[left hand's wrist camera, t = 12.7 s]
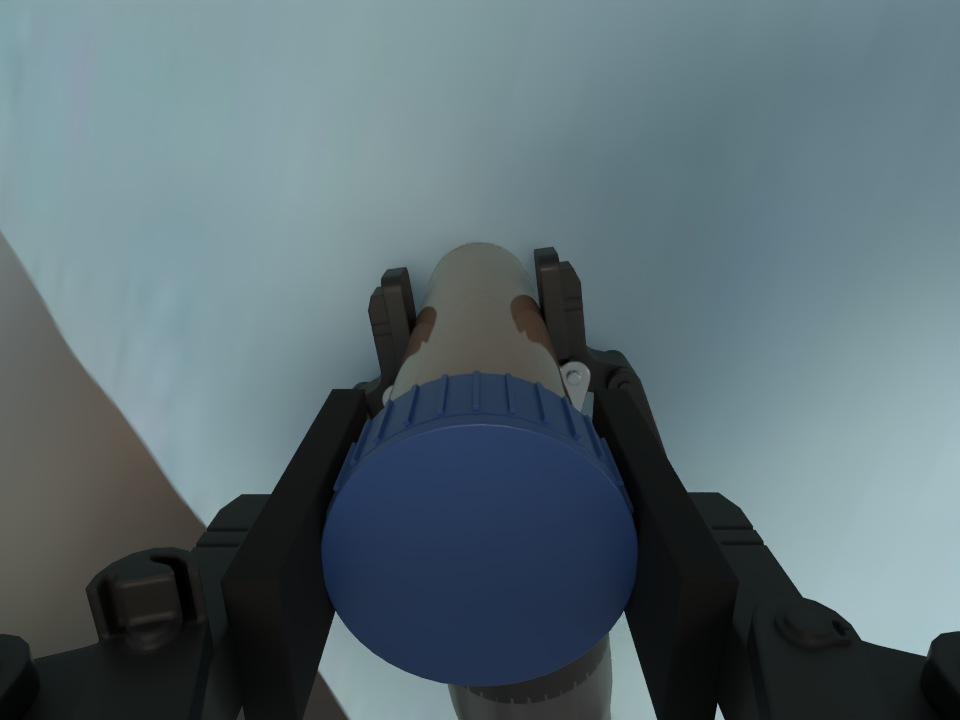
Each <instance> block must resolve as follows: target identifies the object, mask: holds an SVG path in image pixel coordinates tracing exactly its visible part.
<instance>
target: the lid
mask: <svg viewBox="0 0 960 720" xmlns="http://www.w3.org/2000/svg"><path fill="white" fill-rule="evenodd" d="M333 490H334V491H335V492H334V495H333V497H332V500H331V502H330V505H329V507H328V509H327V512H326V521H325V525H324V528H323V533H322V540H321V554H322V565H323V573H324V582H325V587H326V589H327V592H328V595H329V598H330V600H331V602H332V604H333V606H334V608H335V610H336V612H337V614H338V615H339V617H340V618H341V620H342V621H343V623H344V624H345V625H346V627H347V628H348V629H349V630H350V631H351V633H352V634H353V635H354V636H355V637H356V638H357V639H358V640H359V641H360V642H361V643H362V644H363V645H365V646H366V647H367V648H368V649H369V650H371V651H372V652H373V653H374V654H376V655H377V656H379V657H380V658H382V659H383V660H385V661H386V662H388V663H390V664H392V665H394V666H396V667H398V668H400V669H402V670H404V671H406V672H409V673H411V674H414V675H416V676H419V677H422V678H425V679H429V680H433V681H437V682H440V683H447V684H453V685H459V686H476V687H481V686H499V685H507V684H514V683H519V682H523V681H527V680H531V679H535V678H537V677H540V676H543V675H546V674H549V673H551V672H554V671H556V670H558V669H560V668H562V667H564V666H566V665H568V664H570V663H571V662H573V661H574V660H576V659H578V658H579V657H581V656H582V655H584V654H585V653H586V652H588V651H589V650H590V649H591V648H593V647H594V646H595V645H596V644H598V643H599V642H600V640H601V639H602V638H603V637H604V636H605V635H606V634H607V633H608V632H609V631H610V630H611V629H612V627H613V626H614V625H615V623H616V622H617V620H618V619H619V618H620V616H621V615H622V613H623V611H624V609H625V607H626V605H627V604H628V602H629V599H630V596H631V594H632V591H633V588H634V586H635V579H636V570H637V561H638V550H639V545H638V536H637V530H636V527H635V523H634V520H633V516H632V513H634V508H633V505H632V503H631V501H630V498H629V496H628V493H627V491H626V488H625V486H624V482H623V480H622V478H621V475H620V473H619V470H618V468H617V466H616V463H615V461H614V458H613V456H612V454H611V451H610V449H609V446H608V444H607V442H606V440H605V438H602V439H600V437H599V436H598V434H597V433H596V431H595V428H594V426H593V423H592V421H591V418H590V417H589V416H588V415H586V416H585V417H584V416H583V415H582V414H581V412H579V411H578V410H577V409H576V408H575V407H574V406H572V405H571V404H570V401H569V398H567V397H566V396H564V397H563V398H562V397H560V396H559V395H557V394H555V393H554V392H552V391H550V390H548V389H546V388H544V387H543V386H542V383H540V382H538V381H537V382H536V384H535V383H532V382H529V381H526V380H523V379H520V378H516V377H512V374H510V373H506V375H501V374H489V373H480V371H474V373H471V374H459V375H454V376H448V374H445V375H442V378H440V379H436V380H433V381H430V382H427V383H424V384H422V385H420V386H418V384H415V385H413V386H412V388H411V390H409V391H407V392H406V393H404V394H403V395H401V396H399V397H398V398H396V399H394V400H393V401H392V400H391V399H389V400H388V401H387V402H386V404H385V407H384V409H382V410H381V411H380V412H379V413H378V414H377V415H376V417H375V418H374V419H373V420H372V421H371V420H370V419H368V420H367V421H366V423H365V425H364V427H363V430H362V432H361V435H360V437H359V440H358V442H357V444H356V443H354V442H353V443H352V445H351V447H350V449H349V452H348V454H347V456H346V459H345V461H344V463H343V466H342V468H341V471H340V473H339V475H338V478H337V480H336V482H335V485H334V487H333Z"/></svg>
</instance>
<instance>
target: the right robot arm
mask: <svg viewBox="0 0 960 720" xmlns="http://www.w3.org/2000/svg"><path fill="white" fill-rule="evenodd" d="M534 258H535V267H536V276H537V286H538V295H539V304H540V311H541V314H542V316H543V319H544V322H545V325H546V328H547V331H548V334H549V336H550V339H551V342H552V345H553V348H554V351H555V354H556V356H557V359H558V362H559V365H560V368H561V371H562V374H563V376H564V379H565V382H566V385H567V388H568V391H569V394H570V397H571V399H572V402H573V405H574V407H575V408H576V409H577V410H578V411H579V412H581V410H582V407H583V403H584V400H585V396H586V393H587V391H589V392H594V389H627V390H628V392H629V394H630V395H631V397H632V399H633V400H634V402H635V404H636V405H637V407H638V409H639V411H640V412H641V414H642V416H643V417H644V419H645V421H646V423H647V424H648V426H649V428H650V429H651V431H652V433H653V435H654V436H655V438H656V440H657V441H658V443H659V445H660V447H661V448H662V450H663V452H664V453H665V450H664V447H663V444H662V441H661V438H660V435H659V433H658V430H657V427H656V424H655V421H654V418H653V415H652V412H651V410H650V407H649V404H648V401H647V398H646V395H645V392H644V389H643V386H642V384H641V381H640V379H639V377H638V376H637V374H636V373H635V371H634V370H633V368H632V367H631V365H630V364H629V362H628V361H627V359H626V358H625V356H624V355H623V354H622V353H621V352H619V351H616V350H609V351H606V352H603V351H598V350H594V349H591V348H589V347H588V346H586V339H585V327H584V316H583V304H582V292H581V282H580V280H579V278H578V276H577V274H576V272H575V270H574V269H573V267H572V266H571V264H570V263H569V262H568V261H564V262H559V258H558V254H557V252H556V251H555V249H554V248H553V247H548V248H541V249H534ZM368 313H369V317H370V322H371V325H372V331H373V336H374V341H375V346H376V350H377V355H378V360H379V364H380V369H381V376H380V377H378V378H377V379H375V380H373V381H371V382H361V383H358V384H357V385H355V386H354V388H353V389H365V395H366V409H367V420H368V419H370V420H371V421H372V420H373V419H374V418H375V417H376V415H377V414H378V413H379V412H380V411H381V410H382V409H384V407H385V404H386V402H387V401H388V399H389V396H390V393H391V390H392V388H393V385H394V382H395V379H396V376H397V373H398V371H399V368H400V365H401V362H402V359H403V356H404V353H405V351H406V348H407V345H408V342H409V339H410V336H411V334H412V331H413V328H414V325H415V322H416V319H417V317H416V312H415V306H414V301H413V295H412V290H411V285H410V279H409V274H408V271H407V268H406V267H402V268H395V269H388V270H387V271H386V272H385V273H384V275H383V276H382V278H381V287H377V288H376V290H375V291H374V292H373V294H372V295H371V298H370V303H369V309H368ZM665 455H666V453H665ZM666 457H667V456H666ZM448 688H449V692H450V696H451V700H452V703H453V707H454V709H455V712H456V715H457V717H458V719H459V720H611V714H610V703H611V693H612V663H611V652H610V641H609V632H608V633H607V634H606V635H605V636H604V637H603V638H602V639H601V640H600V642H599V643H598V644H596V645H595V646H594V647H593V648H591V649H590V650H589V651H588V652H586V653H585V654H584V655H582V656H581V657H579V658H578V659H576V660H574V661H573V662H571V663H570V664H568V665H566V666H564V667H562V668H560V669H558V670H556V671H554V672H551V673H549V674H546V675H543V676H540V677H537V678H535V679H531V680H527V681H523V682H519V683H514V684H507V685H499V686H481V687H476V686H459V685H453V684H448Z"/></svg>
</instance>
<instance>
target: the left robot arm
mask: <svg viewBox="0 0 960 720" xmlns="http://www.w3.org/2000/svg"><path fill="white" fill-rule="evenodd" d="M366 421H367V409H366V395H365V389H332V391H331V393H330V395H329V396H328V398H327V400H326V401H325V403H324V405H323V407H322V408H321V410H320V412H319V413H318V415H317V417H316V419H315V420H314V422H313V424H312V425H311V427H310V429H309V431H308V432H307V434H306V436H305V437H304V439H303V441H302V442H301V444H300V446H299V448H298V449H297V451H296V453H295V454H294V456H293V458H292V460H291V461H290V463H289V465H288V466H287V468H286V470H285V472H284V473H283V475H282V477H281V478H280V480H279V482H278V484H277V485H276V487H275V489H274V490H273V492H272V494H241V495H240V496H239V497H237V498H236V499H235V500H233V501H232V502H230V503H229V504H228V505H226V506H225V507H223V508H222V509H221V510H219V512H218V513H217V515H216V516H215V518H214V519H213V521H212V522H211V523H210V525H209V526H208V528H207V532H204V533H203V535H202V536H201V538H200V539H199V541H198V542H197V544H196V547H194V548H193V549H192V551H191V552H189V551H187V550H182V549H178V548H174V547H167V548H153V549H149V550H145V551H141V552H137V553H133V554H131V555H128V556H126V557H124V558H122V559H120V560H118V561H115V562H113V563H112V564H110V565H109V566H108V567H106V568H105V569H104V570H102V571H101V572H99V573H98V574H97V575H96V576H95V577H94V578H93V579H92V581H91V582H90V583H89V585H88V586H87V587H86V593H87V597H88V600H89V604H90V608H91V611H92V615H93V618H94V622H95V626H96V630H97V633H98V637H99V642H98V643H97V644H94V645H90V646H87V647H84V648H80V649H75V650H71V651H67V652H63V653H59V654H54V655H50V656H46V657H41V658H37V659H33V656H32V653H31V650H30V647H29V644H28V643H27V642H25V641H24V640H23V639H22V638H21V637H20V636H13V635H6V634H0V720H236V719H237V716H238V714H239V712H240V709H241V707H242V705H243V710H244V716H245V720H302V719H303V716H304V712H305V709H306V706H307V702H308V699H309V696H310V693H311V689H312V686H313V683H314V680H315V676H316V673H317V670H318V666H319V663H320V660H321V657H322V653H323V650H324V647H325V644H326V640H327V637H328V634H329V630H330V627H331V624H332V621H333V617H334V614H335V611H336V610H335V608H334V606H333V604H332V602H331V600H330V598H329V595H328V592H327V589H326V587H325V582H324V573H323V565H322V554H321V540H322V533H323V528H324V525H325V521H326V512H327V509H328V507H329V505H330V502H331V500H332V497H333V495H334V492H335V491H334V490H333V487H334V485H335V482H336V480H337V478H338V475H339V473H340V471H341V468H342V466H343V463H344V461H345V459H346V456H347V454H348V452H349V449H350V447H351V445H352V443H353V442H354V443H356V444H357V442H358V440H359V437H360V435H361V432H362V430H363V427H364V425H365V423H366ZM592 423H593V426H594V428H595V431H596V433H597V434H598V436H599V437H600V439H602V438H605V440H606V442H607V444H608V446H609V449H610V451H611V454H612V456H613V458H614V461H615V463H616V466H617V468H618V470H619V473H620V475H621V478H622V480H623V482H624V486H625V488H626V491H627V493H628V496H629V498H630V501H631V503H632V505H633V508H634V513H632V516H633V520H634V523H635V527H636V530H637V536H638V545H639V550H638V561H637V570H636V579H635V586H634V588H633V591H632V594H631V596H630V599H629V602H628V604H627V605H626V607H625V609H624V612H625V615H626V618H627V622H628V625H629V628H630V632H631V635H632V638H633V641H634V645H635V648H636V651H637V655H638V658H639V661H640V664H641V668H642V671H643V674H644V677H645V681H646V684H647V687H648V691H649V694H650V697H651V700H652V704H653V707H654V710H655V714H656V717H657V720H715V714H716V708H717V703H718V705H719V707H720V709H721V712H722V714H723V717H724V719H725V720H960V631H956V632H949V633H942V634H940V635H939V636H938V637H937V638H935V639H934V640H933V641H932V642H931V645H930V648H929V651H928V654H927V657H926V656H921V655H917V654H913V653H908V652H904V651H900V650H896V649H891V648H887V647H883V646H878V645H875V644H872V643H868V642H865V641H862V640H861V639H860V637H859V636H858V634H857V633H856V631H855V630H854V628H853V627H852V625H851V624H850V623H849V622H848V621H846V620H845V619H844V618H843V617H842V616H840V615H839V614H838V613H837V612H836V611H834V610H832V609H830V608H828V607H826V606H824V605H822V604H820V603H818V602H816V601H813V600H810V599H806V598H803V597H802V595H801V594H800V593H799V591H798V590H797V588H796V587H795V585H794V584H793V583H792V581H791V580H790V578H789V577H788V576H787V574H786V573H785V571H784V570H783V568H782V567H781V566H780V564H779V563H778V561H777V560H776V558H775V557H774V556H773V554H772V553H771V551H770V550H769V548H768V547H767V546H766V545H764V541H763V540H762V538H761V537H760V536H759V534H758V533H757V531H756V530H753V526H752V524H751V523H750V521H749V520H748V519H747V517H746V516H745V514H744V513H743V511H742V510H741V509H740V508H739V507H738V506H737V505H735V504H734V503H732V502H731V501H730V500H728V499H727V498H725V497H724V496H722V495H721V494H720V493H718V492H687V491H686V489H685V488H684V486H683V484H682V482H681V481H680V479H679V477H678V476H677V474H676V472H675V471H674V469H673V467H672V465H671V464H670V462H669V460H668V459H667V457H666V455H665V453H664V452H663V450H662V448H661V447H660V445H659V443H658V441H657V440H656V438H655V436H654V435H653V433H652V431H651V429H650V428H649V426H648V424H647V423H646V421H645V419H644V417H643V416H642V414H641V412H640V411H639V409H638V407H637V405H636V404H635V402H634V400H633V399H632V397H631V395H630V394H629V392H628V390H627V389H594V404H593V418H592Z"/></svg>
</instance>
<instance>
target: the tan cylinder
mask: <svg viewBox="0 0 960 720" xmlns="http://www.w3.org/2000/svg"><path fill="white" fill-rule="evenodd" d="M474 371H480V373H489V374H501V375H506V373H510V374H512V377H516V378H520V379H523V380H526V381H529V382H532V383H535V384H536V382H537V381H538V382H540V383H542V386H543V387H544V388H546V389H548V390H550V391H552V392H554V393H555V394H557V395H559V396H560V397H562V398H563V397H564V396H566V397H567V398H569V401H570V404H571V405H572V406H574V405H573V402H572V399H571V397H570V394H569V391H568V388H567V385H566V382H565V379H564V376H563V374H562V371H561V368H560V365H559V362H558V359H557V356H556V354H555V351H554V348H553V345H552V342H551V339H550V336H549V334H548V331H547V328H546V325H545V322H544V319H543V316H542V314H541V311H540V308H539V305H538V302H537V299H536V296H535V293H534V291H533V288H532V285H531V282H530V279H529V276H528V274H527V272H526V270H525V268H524V266H523V265H522V263H521V262H520V261H519V260H518V259H517V258H516V257H515V256H514V255H513V254H512V253H510V252H509V251H507V250H506V249H504V248H502V247H499V246H496V245H493V244H488V243H472V244H467V245H464V246H461V247H459V248H457V249H454V250H453V251H451V252H450V253H448V254H447V255H446V256H445V257H444V258H443V259H442V260H441V261H440V262H439V264H438V265H437V267H436V268H435V270H434V272H433V274H432V277H431V280H430V282H429V285H428V288H427V291H426V294H425V297H424V299H423V302H422V305H421V308H420V311H419V314H418V317H417V319H416V322H415V325H414V328H413V331H412V334H411V336H410V339H409V342H408V345H407V348H406V351H405V353H404V356H403V359H402V362H401V365H400V368H399V371H398V373H397V376H396V379H395V382H394V385H393V388H392V390H391V393H390V396H389V399H391V400H392V401H393V400H394V399H396V398H398V397H399V396H401V395H403V394H404V393H406V392H407V391H409V390H411V388H412V386H413V385H415V384H418V386H420V385H422V384H424V383H427V382H430V381H433V380H436V379H440V378H442V375H445V374H448V376H454V375H459V374H471V373H474ZM389 399H388V400H389Z"/></svg>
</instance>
